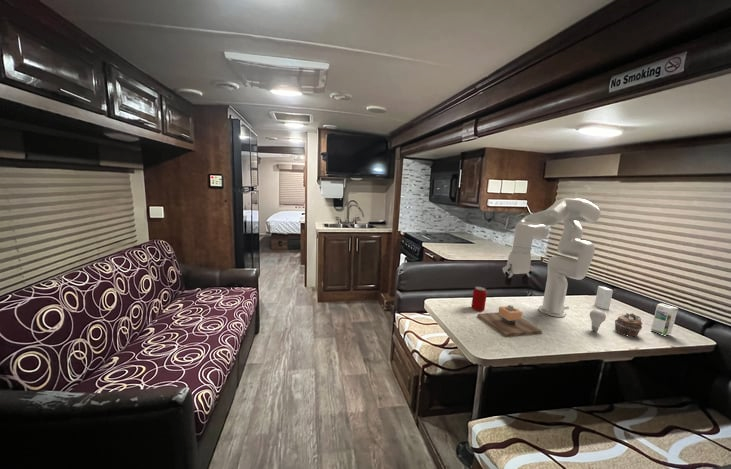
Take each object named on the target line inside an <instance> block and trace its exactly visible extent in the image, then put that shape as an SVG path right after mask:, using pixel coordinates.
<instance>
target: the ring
mask: <svg viewBox="0 0 731 469" xmlns="http://www.w3.org/2000/svg"><path fill="white" fill-rule="evenodd" d="M498 312H499V313H498V314H499V315H500V316H502V317H503V318H505V319H507V320H508V321H514V320H521V318H522V316H523V311H521V310H519V309H518V308H516V307H514V308H513V311H509V310H508V305H505V306H499V308H498Z"/></svg>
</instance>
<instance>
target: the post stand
mask: <svg viewBox="0 0 731 469" xmlns="http://www.w3.org/2000/svg"><path fill="white" fill-rule="evenodd" d="M507 306H508V310H509V311H513V308H515V307H514V306H513V305H511V304H510V305H507ZM498 313H499V311H498V312H485V313H477V316H476V317H478V318H479V319H481V321H483V322H485V323H486V324H487V325H488V326H490V327H491V328H493V329H494V330H495V331H497V332H498V333H499V334H501V335H502V336H503V337H505V338H507V337H508V338H510V337H520V336H530V335H531V336H532V335H540V334H543V330H542V329H540V328H538V327H537V326H535V325H533V324H532V323H530V322H528V321H527V320H526V319H523V318H522V317H521V320H514V321H508V320H507V319H505V318H503V317H502V316H500V315H499V314H498Z"/></svg>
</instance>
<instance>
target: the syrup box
mask: <svg viewBox="0 0 731 469" xmlns="http://www.w3.org/2000/svg"><path fill="white" fill-rule="evenodd" d="M678 310H679V308H678V307H675V306H671V305H670V304H666V303H658V304H656V309H655V312H654V317H653V320H652V323H651V327H650V330H651V331H654V332H657V333H660V334H663V335H669V334H671V335H672V332H673V328H674V325H675V321H676V317H677V314H678V313H677V312H678ZM651 331H650V332H651ZM654 332H653V333H654ZM657 333H656V334H657ZM669 336H670V335H669Z"/></svg>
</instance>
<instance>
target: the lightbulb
mask: <svg viewBox="0 0 731 469" xmlns="http://www.w3.org/2000/svg"><path fill="white" fill-rule="evenodd" d="M606 318H607V316H606V313H605V312H604V311H602V309H597V308H595V309H592V310H591V311H590V312H589V319H590V322H591V323H590V324H591V327H590V328H591V330H592V331H593V332H598V331H599V328H600V327H601V325H602V324H603V323H604V322H605V320H606Z"/></svg>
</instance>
